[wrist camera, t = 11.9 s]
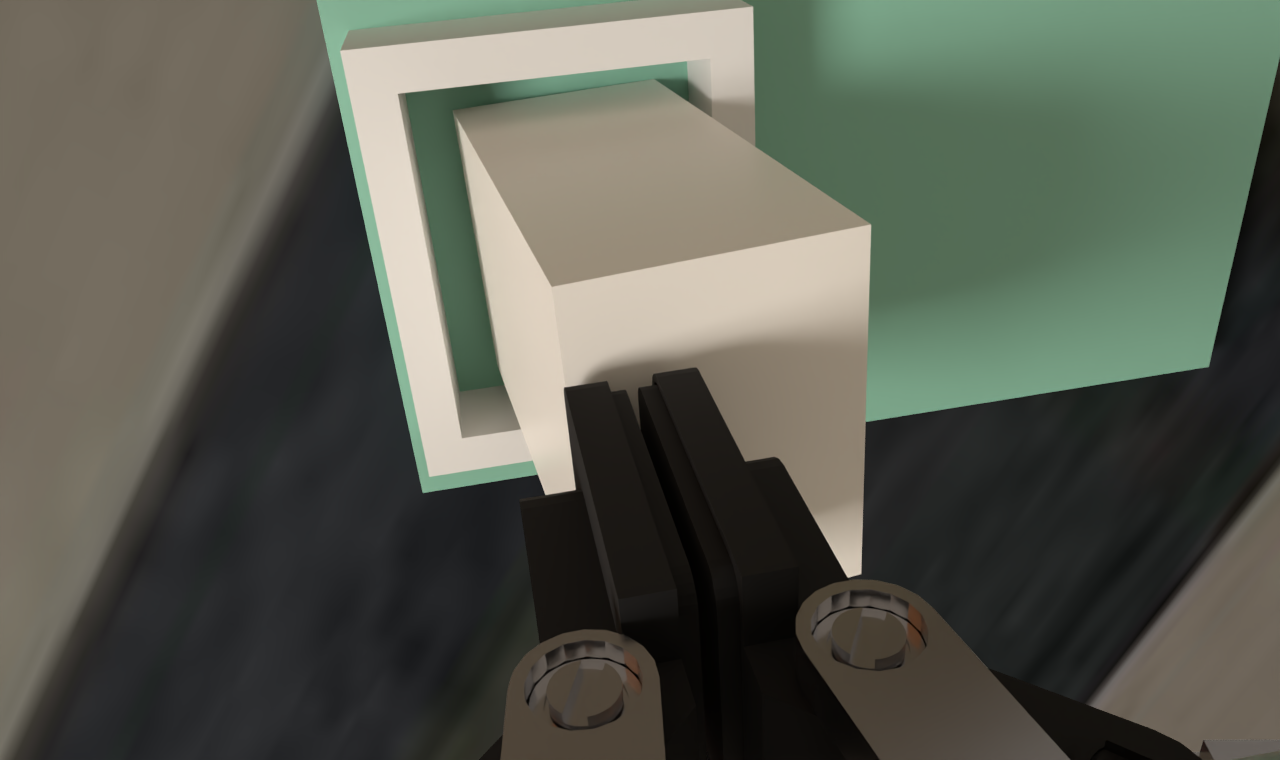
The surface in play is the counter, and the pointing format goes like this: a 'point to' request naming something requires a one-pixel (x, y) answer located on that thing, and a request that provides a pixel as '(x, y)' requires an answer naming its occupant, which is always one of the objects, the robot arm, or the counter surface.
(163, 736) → the counter surface
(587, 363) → the plug
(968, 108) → the board
